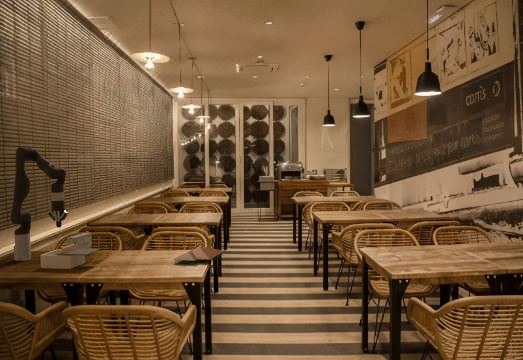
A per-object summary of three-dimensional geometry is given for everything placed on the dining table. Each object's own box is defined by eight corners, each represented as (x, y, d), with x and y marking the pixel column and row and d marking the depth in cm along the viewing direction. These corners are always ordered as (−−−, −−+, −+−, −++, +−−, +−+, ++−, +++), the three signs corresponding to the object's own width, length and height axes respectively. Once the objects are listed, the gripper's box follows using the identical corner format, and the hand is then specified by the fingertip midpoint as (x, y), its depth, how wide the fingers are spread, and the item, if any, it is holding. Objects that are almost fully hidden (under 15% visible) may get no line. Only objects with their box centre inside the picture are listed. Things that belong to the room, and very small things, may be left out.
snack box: (74, 260, 304) (73, 237, 303) (67, 260, 305) (66, 237, 304) (92, 253, 325) (92, 232, 324) (85, 253, 326) (84, 232, 325)
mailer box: (40, 267, 285) (40, 255, 284) (56, 261, 301) (56, 249, 300) (70, 268, 281) (70, 255, 281) (85, 262, 297) (84, 250, 297)
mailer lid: (56, 254, 282) (56, 248, 282) (71, 249, 298) (71, 243, 298) (86, 255, 279) (86, 249, 279) (100, 250, 295) (100, 244, 295)
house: (225, 254, 314) (225, 242, 314) (207, 266, 282) (206, 253, 282) (194, 253, 320) (194, 241, 320) (172, 264, 289) (172, 251, 288)
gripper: (44, 200, 286) (45, 228, 287) (64, 200, 284) (65, 228, 285) (52, 199, 294) (53, 226, 295) (71, 199, 291) (72, 226, 292)
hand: (59, 227), depth 290 cm, fingers closed
